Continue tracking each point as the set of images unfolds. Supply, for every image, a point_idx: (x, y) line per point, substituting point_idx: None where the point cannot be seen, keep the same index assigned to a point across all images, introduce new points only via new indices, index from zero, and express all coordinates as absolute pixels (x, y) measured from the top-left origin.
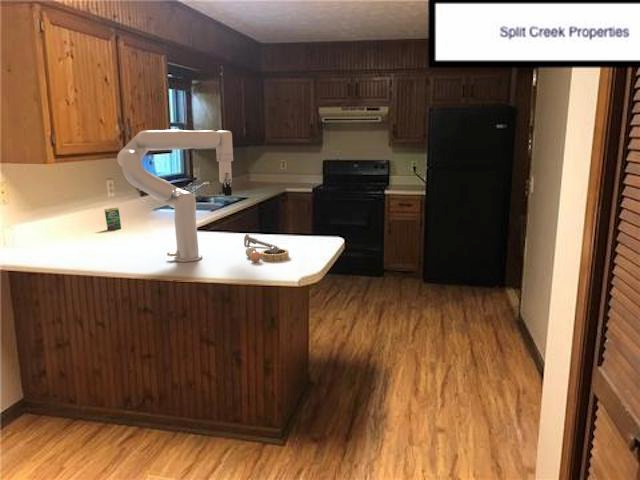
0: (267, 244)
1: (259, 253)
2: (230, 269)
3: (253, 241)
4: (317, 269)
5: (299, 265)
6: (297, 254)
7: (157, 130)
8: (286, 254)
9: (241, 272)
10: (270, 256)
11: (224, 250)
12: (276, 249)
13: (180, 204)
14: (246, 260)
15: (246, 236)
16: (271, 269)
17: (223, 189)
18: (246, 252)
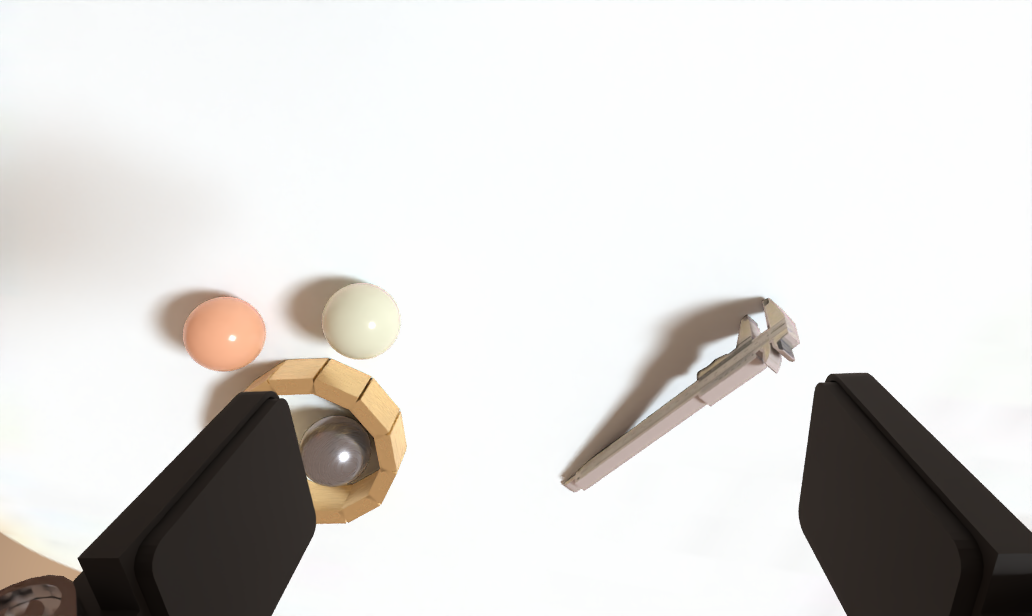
0: (620, 447)
1: (207, 368)
2: (73, 152)
3: (711, 374)
4: (71, 562)
5: None
6: (387, 547)
7: None
8: None
9: (5, 215)
10: None
11: (657, 133)
12: (306, 474)
13: None
14: (296, 270)
15: (772, 346)
16: (72, 379)
17: (872, 467)
18: (337, 291)
